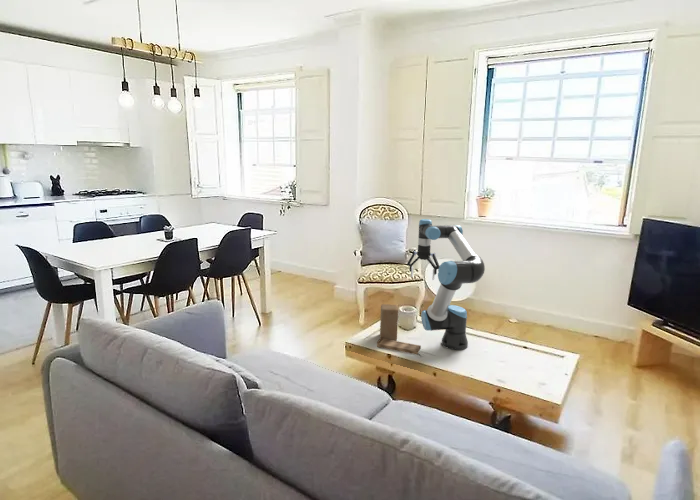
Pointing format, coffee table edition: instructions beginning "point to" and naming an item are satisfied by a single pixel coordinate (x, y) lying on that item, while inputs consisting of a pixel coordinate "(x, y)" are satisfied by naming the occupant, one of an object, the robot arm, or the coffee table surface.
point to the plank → (398, 346)
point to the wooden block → (389, 322)
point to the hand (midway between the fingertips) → (422, 278)
